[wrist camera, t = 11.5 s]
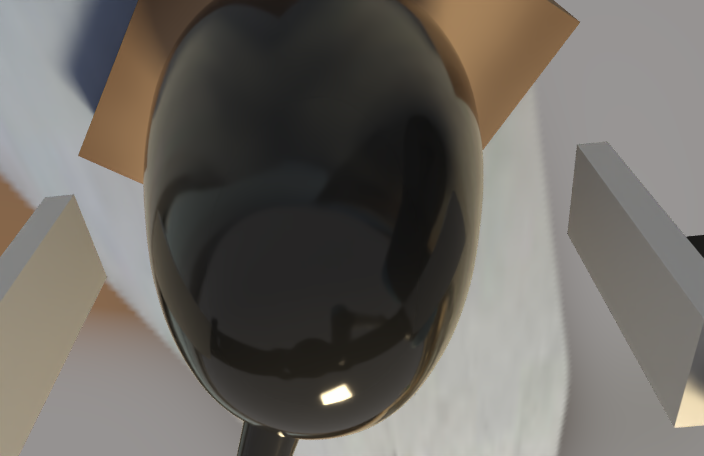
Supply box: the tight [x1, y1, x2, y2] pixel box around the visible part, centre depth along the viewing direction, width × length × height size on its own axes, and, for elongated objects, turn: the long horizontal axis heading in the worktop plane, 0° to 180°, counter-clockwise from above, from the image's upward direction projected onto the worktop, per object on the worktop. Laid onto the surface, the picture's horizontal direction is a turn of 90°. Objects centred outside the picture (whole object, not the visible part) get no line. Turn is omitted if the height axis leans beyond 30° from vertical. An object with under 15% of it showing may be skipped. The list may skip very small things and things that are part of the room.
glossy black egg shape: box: [143, 0, 483, 456], centre depth 18 cm, size 10×10×15 cm
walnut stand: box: [78, 0, 580, 184], centre depth 25 cm, size 14×14×3 cm
